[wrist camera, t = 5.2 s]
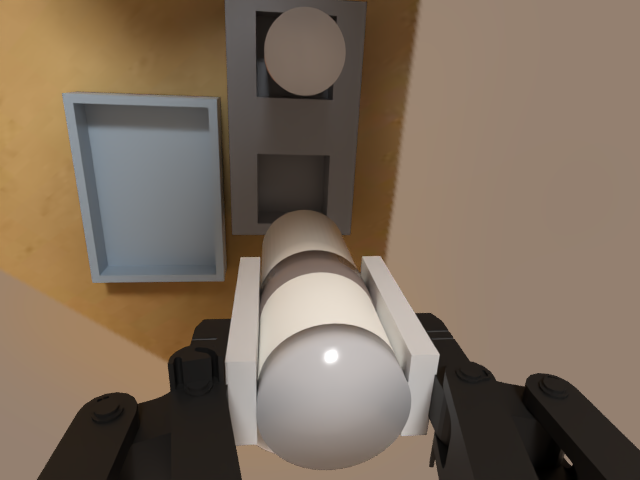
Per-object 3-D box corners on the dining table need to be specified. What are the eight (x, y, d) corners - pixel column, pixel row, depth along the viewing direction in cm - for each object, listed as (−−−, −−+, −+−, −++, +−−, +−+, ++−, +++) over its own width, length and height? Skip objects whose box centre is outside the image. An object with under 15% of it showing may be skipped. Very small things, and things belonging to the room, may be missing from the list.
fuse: (264, 25, 31) (262, 2, 20) (322, 28, 31) (349, 8, 21) (265, 87, 32) (263, 95, 22) (320, 89, 32) (344, 98, 22)
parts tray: (77, 91, 32) (62, 93, 29) (220, 97, 33) (216, 99, 31) (103, 269, 37) (92, 282, 34) (226, 268, 38) (224, 281, 36)
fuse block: (229, 2, 31) (224, -8, 27) (355, 9, 32) (367, 1, 28) (235, 218, 36) (232, 234, 33) (342, 218, 37) (350, 234, 34)
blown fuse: (260, 208, 20) (252, 346, 10) (347, 209, 21) (422, 341, 11) (261, 286, 22) (255, 476, 12) (342, 285, 22) (404, 466, 12)
